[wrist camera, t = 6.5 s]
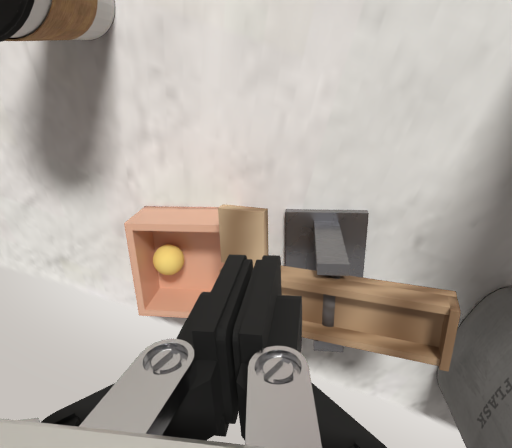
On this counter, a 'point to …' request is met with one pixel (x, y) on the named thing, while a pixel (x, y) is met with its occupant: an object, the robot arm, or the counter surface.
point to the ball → (168, 259)
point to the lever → (353, 300)
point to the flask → (482, 374)
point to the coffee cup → (55, 19)
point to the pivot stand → (327, 246)
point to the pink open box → (194, 250)
